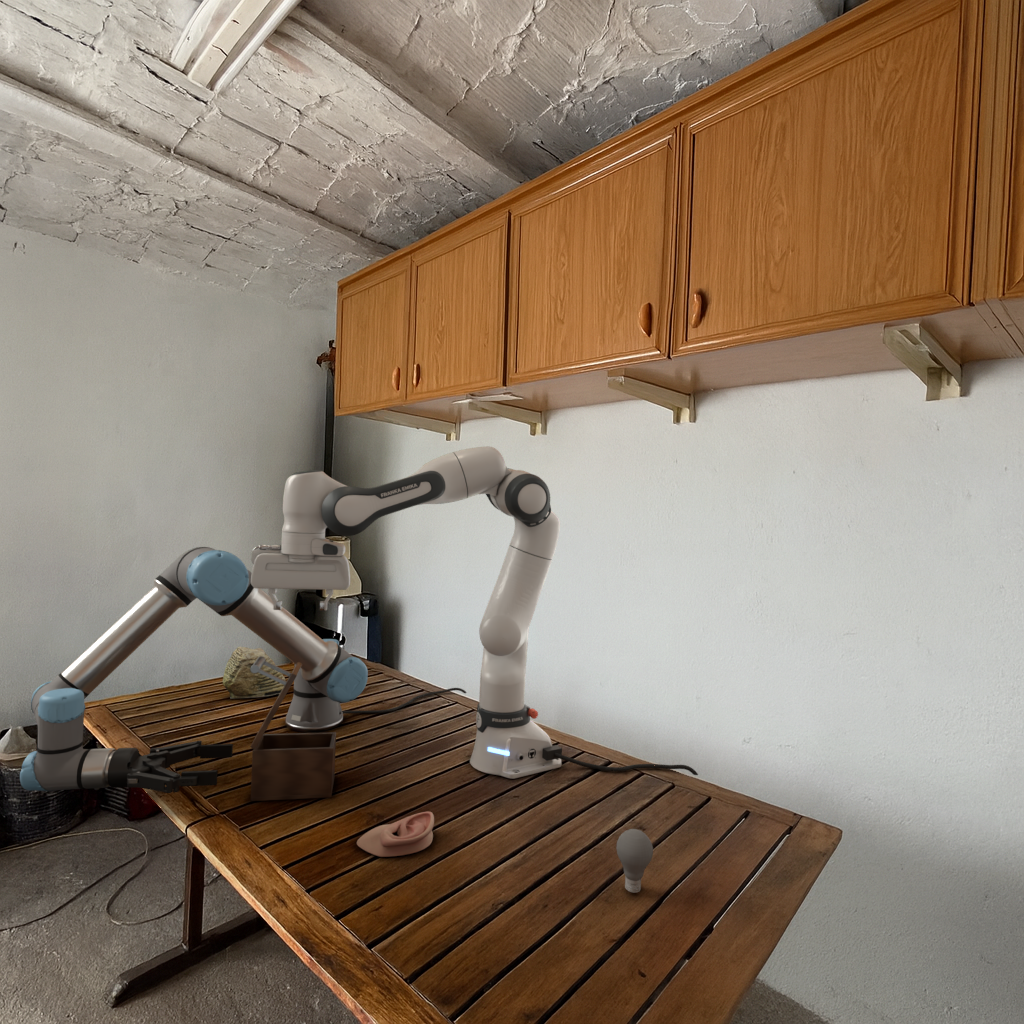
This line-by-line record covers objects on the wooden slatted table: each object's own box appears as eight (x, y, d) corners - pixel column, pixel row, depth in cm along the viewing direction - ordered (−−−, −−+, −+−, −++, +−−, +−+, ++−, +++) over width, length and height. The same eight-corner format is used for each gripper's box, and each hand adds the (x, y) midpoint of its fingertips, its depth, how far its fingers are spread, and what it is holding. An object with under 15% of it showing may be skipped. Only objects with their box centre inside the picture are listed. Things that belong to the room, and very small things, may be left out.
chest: (334, 778, 143) (336, 731, 143) (331, 797, 134) (333, 748, 134) (259, 781, 140) (260, 734, 139) (250, 801, 130) (252, 751, 130)
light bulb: (610, 879, 108) (613, 822, 108) (644, 879, 109) (647, 822, 109) (619, 902, 102) (622, 840, 102) (655, 901, 103) (658, 840, 103)
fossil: (218, 695, 195) (220, 647, 195) (278, 685, 208) (279, 640, 207) (228, 703, 189) (230, 653, 188) (289, 692, 201) (290, 645, 201)
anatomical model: (349, 829, 113) (376, 800, 125) (348, 851, 113) (375, 820, 125) (420, 841, 111) (440, 810, 122) (419, 863, 111) (439, 830, 122)
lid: (302, 663, 141) (265, 645, 139) (296, 675, 132) (256, 656, 130) (263, 732, 140) (225, 715, 138) (254, 749, 130) (214, 730, 129)
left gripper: (135, 760, 141) (237, 757, 146) (84, 816, 117) (208, 810, 121) (136, 727, 141) (238, 724, 145) (86, 776, 117) (210, 771, 121)
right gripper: (248, 545, 130) (246, 612, 131) (350, 548, 135) (348, 612, 135) (254, 542, 137) (252, 606, 137) (352, 545, 141) (349, 607, 141)
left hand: (225, 763), depth 133 cm, fingers open, 13 cm apart
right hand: (300, 609), depth 136 cm, fingers open, 8 cm apart
